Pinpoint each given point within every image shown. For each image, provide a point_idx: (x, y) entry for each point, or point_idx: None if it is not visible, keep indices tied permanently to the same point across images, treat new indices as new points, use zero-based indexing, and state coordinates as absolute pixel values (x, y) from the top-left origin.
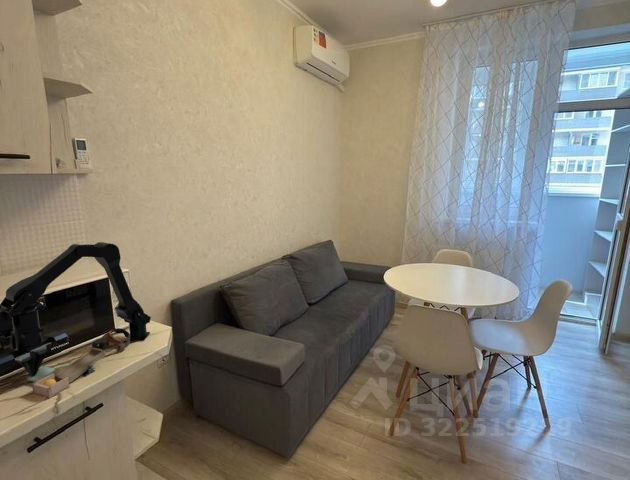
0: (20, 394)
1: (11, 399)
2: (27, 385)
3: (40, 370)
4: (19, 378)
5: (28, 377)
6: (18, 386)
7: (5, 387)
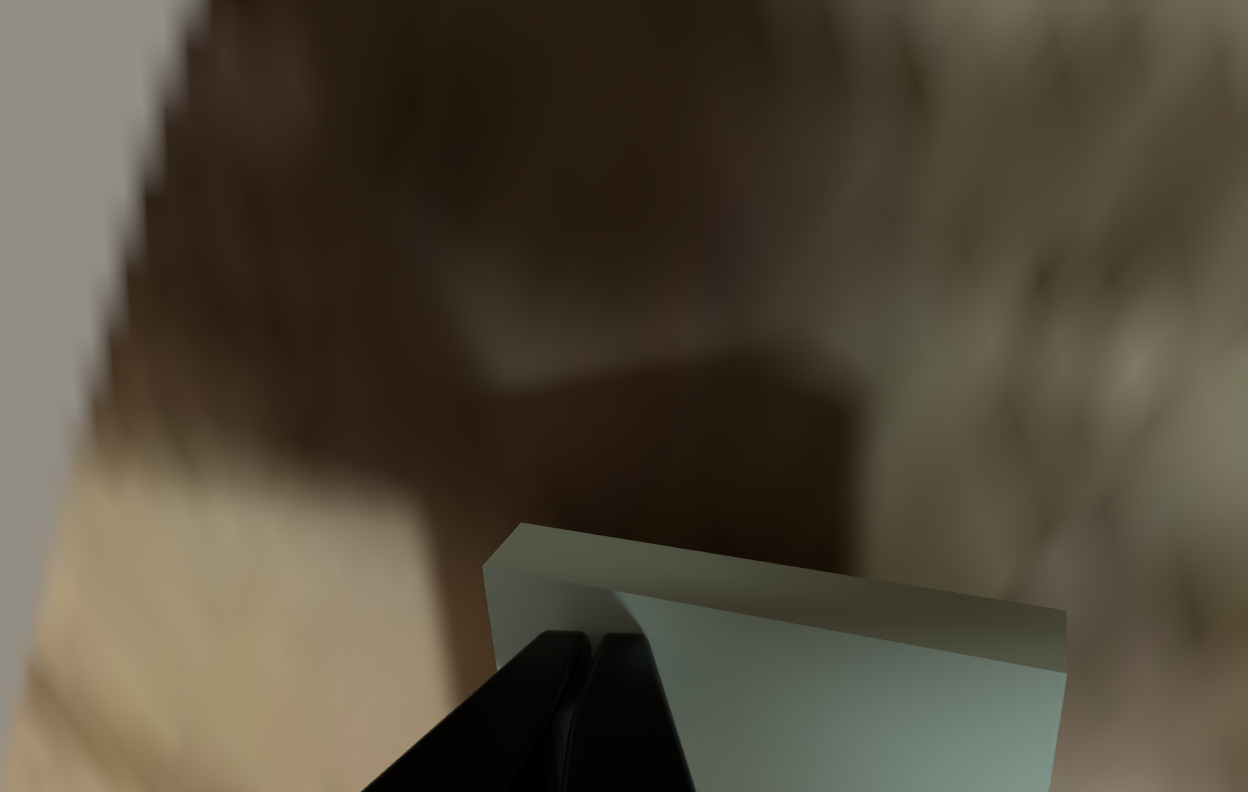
0: (239, 763)
1: (93, 761)
2: (458, 598)
3: (842, 702)
4: (538, 21)
5: (516, 585)
6: (333, 451)
7: (135, 186)
